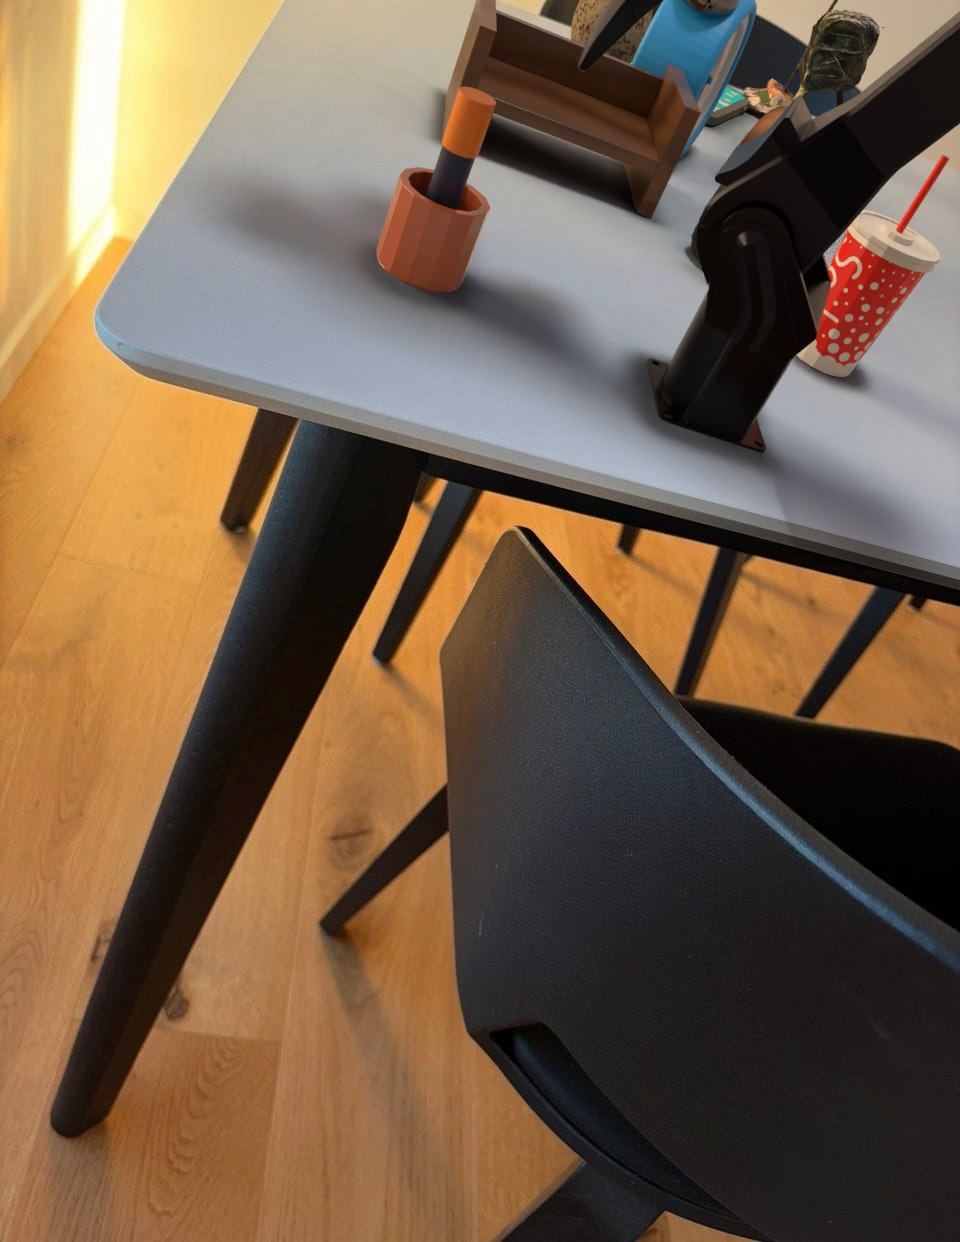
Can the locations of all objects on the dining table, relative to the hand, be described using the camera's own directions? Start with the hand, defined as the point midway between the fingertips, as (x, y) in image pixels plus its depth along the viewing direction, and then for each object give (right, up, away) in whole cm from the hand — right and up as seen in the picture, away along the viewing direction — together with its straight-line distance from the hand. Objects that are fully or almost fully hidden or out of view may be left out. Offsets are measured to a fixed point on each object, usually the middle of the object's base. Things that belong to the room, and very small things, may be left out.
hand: (498, 26), depth 55 cm
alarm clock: (+14, +11, +41) cm, 44 cm away
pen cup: (-4, -10, +7) cm, 13 cm away
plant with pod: (+31, +24, +64) cm, 75 cm away
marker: (-4, -10, +7) cm, 13 cm away
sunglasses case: (+27, +12, +48) cm, 56 cm away
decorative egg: (+10, +23, +52) cm, 57 cm away
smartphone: (+21, +24, +58) cm, 66 cm away
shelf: (+4, +6, +29) cm, 30 cm away
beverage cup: (+22, -12, +20) cm, 32 cm away
